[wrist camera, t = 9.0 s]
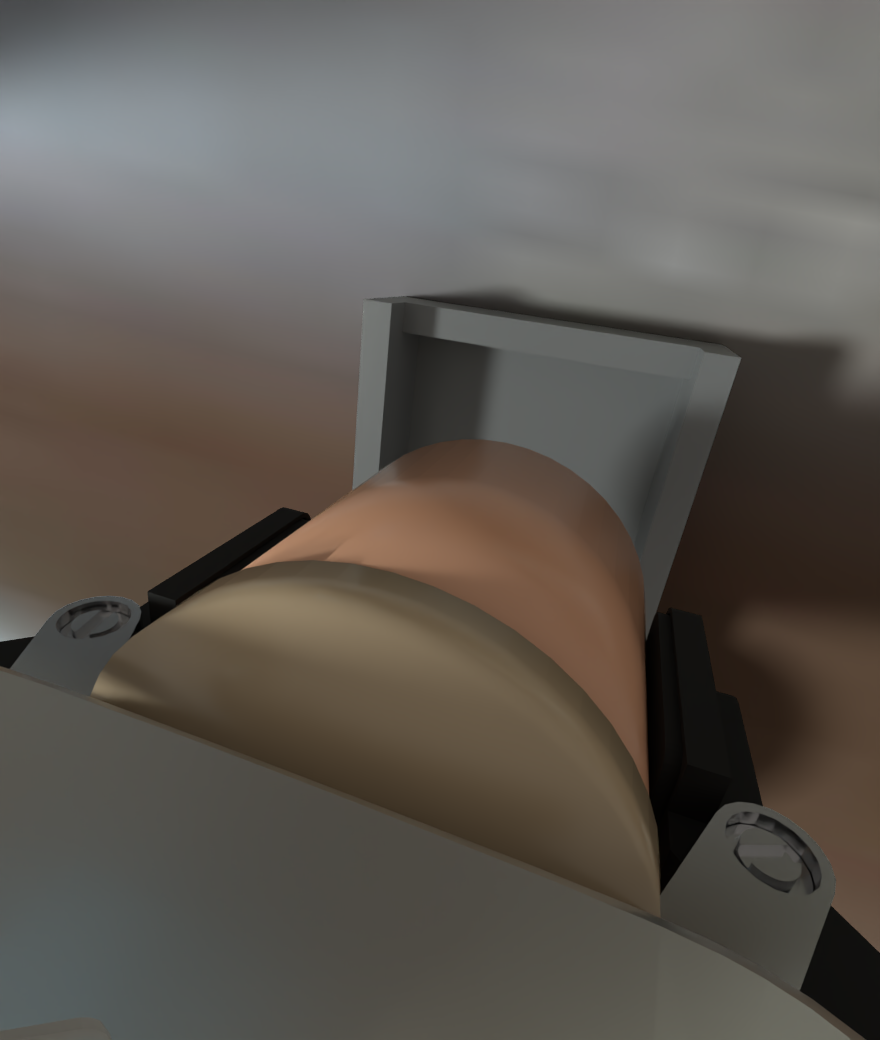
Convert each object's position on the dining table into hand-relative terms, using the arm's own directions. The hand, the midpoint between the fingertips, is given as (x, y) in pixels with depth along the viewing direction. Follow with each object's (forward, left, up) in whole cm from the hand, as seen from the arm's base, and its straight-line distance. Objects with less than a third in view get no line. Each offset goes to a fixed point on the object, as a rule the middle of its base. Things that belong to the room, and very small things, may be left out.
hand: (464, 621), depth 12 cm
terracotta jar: (0, 0, -1) cm, 1 cm away
